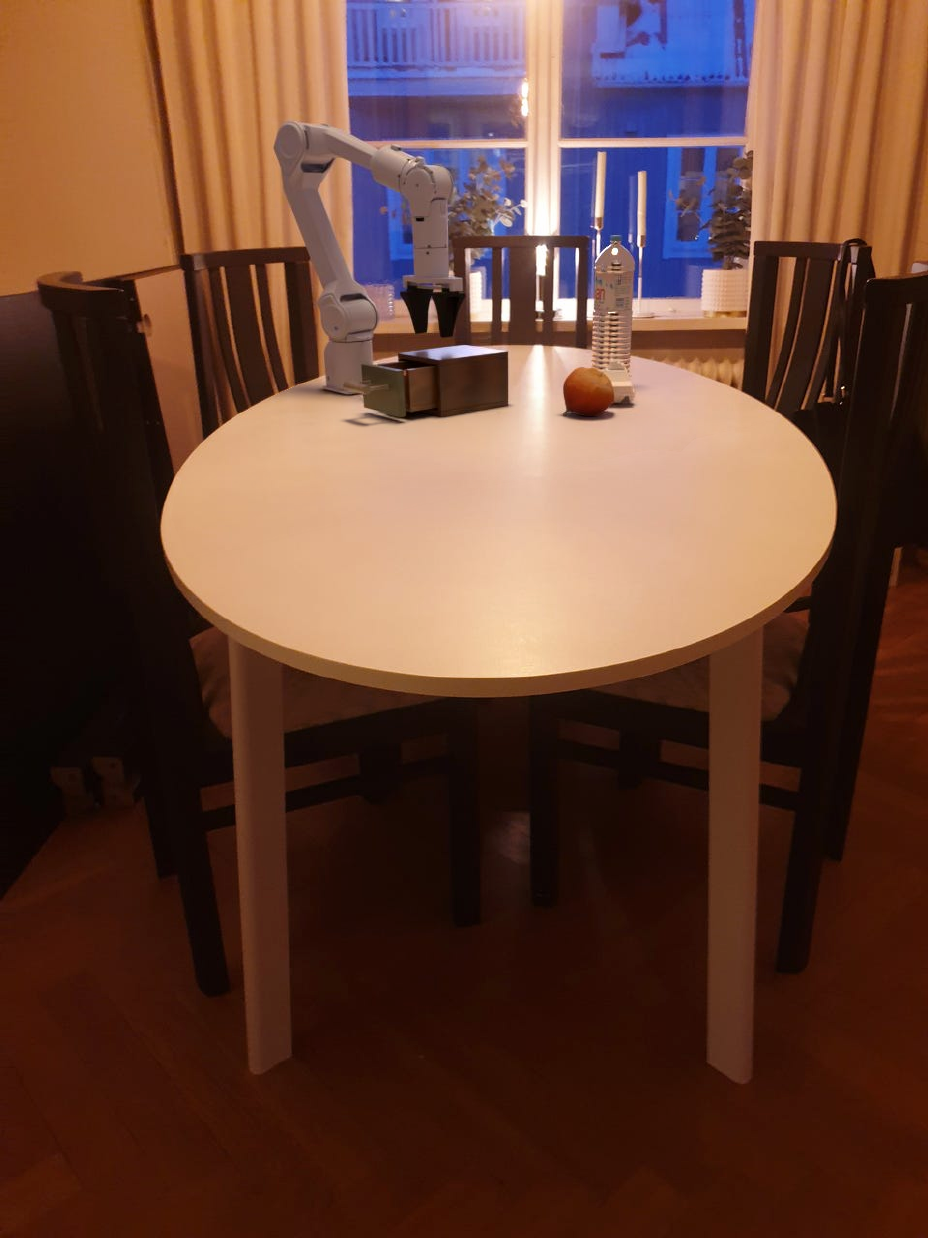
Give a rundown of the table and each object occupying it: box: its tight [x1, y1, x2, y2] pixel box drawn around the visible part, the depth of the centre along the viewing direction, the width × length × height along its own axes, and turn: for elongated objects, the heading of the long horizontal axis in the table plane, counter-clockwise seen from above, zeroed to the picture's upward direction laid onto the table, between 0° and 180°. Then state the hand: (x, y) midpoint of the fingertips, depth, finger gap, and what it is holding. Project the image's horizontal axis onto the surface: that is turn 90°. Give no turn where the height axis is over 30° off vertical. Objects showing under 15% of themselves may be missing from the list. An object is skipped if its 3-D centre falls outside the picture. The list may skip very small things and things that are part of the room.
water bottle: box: [590, 234, 636, 375], centre depth 156 cm, size 7×7×25 cm
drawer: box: [343, 360, 438, 418], centre depth 141 cm, size 17×10×7 cm, turn 127°
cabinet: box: [397, 344, 509, 418], centre depth 146 cm, size 14×12×9 cm
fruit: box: [562, 366, 614, 418], centre depth 138 cm, size 8×8×8 cm
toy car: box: [604, 359, 636, 404], centre depth 148 cm, size 6×12×7 cm, turn 175°
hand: (433, 335), depth 151 cm, fingers open, 7 cm apart
